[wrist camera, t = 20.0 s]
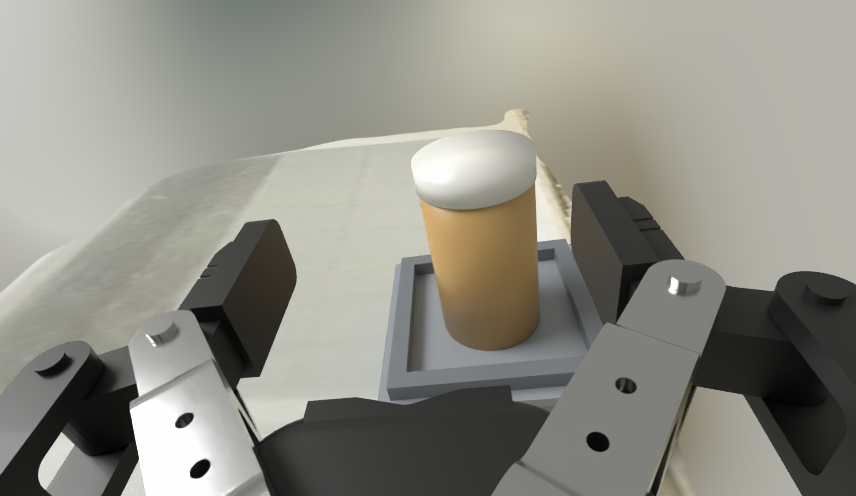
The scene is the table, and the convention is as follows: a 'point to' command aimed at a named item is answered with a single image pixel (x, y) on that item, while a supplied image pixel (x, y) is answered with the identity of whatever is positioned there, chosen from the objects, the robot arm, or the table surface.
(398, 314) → the grey case
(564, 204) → the table surface
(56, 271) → the table surface
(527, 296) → the glass of beer
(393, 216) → the table surface
